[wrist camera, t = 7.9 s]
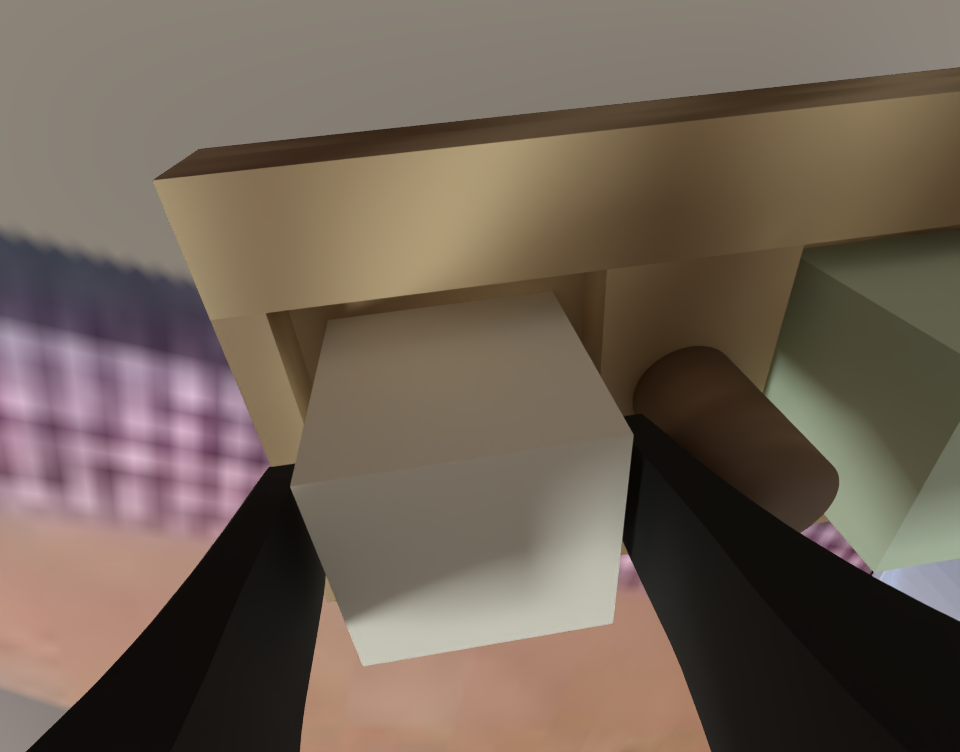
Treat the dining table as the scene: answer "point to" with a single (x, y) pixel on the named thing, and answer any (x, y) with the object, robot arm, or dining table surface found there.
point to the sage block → (880, 389)
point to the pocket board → (578, 245)
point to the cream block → (463, 476)
